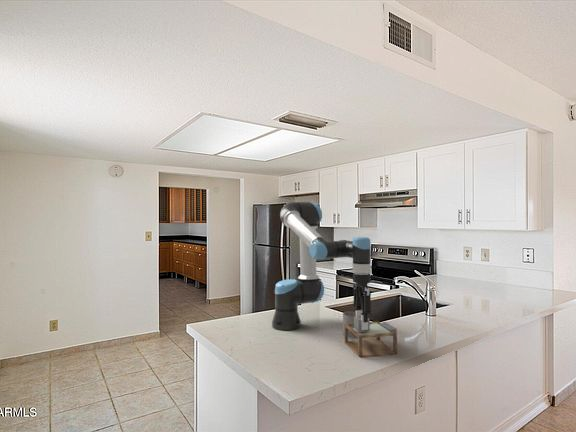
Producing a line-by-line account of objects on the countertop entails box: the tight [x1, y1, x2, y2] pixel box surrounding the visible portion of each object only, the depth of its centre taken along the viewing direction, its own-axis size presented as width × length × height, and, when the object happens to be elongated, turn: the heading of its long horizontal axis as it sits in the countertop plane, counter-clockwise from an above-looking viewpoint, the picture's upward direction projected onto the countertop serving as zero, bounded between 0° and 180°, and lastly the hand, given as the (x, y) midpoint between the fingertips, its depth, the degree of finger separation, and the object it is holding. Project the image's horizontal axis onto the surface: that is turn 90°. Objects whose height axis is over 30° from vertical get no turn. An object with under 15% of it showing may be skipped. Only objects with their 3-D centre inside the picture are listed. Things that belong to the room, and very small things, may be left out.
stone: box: [354, 316, 371, 332], centre depth 151 cm, size 5×5×5 cm
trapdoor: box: [353, 321, 398, 341], centre depth 152 cm, size 16×13×2 cm
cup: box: [342, 311, 358, 339], centre depth 169 cm, size 8×8×10 cm
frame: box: [344, 321, 398, 358], centre depth 152 cm, size 17×17×8 cm
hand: (361, 327), depth 151 cm, fingers open, 5 cm apart
